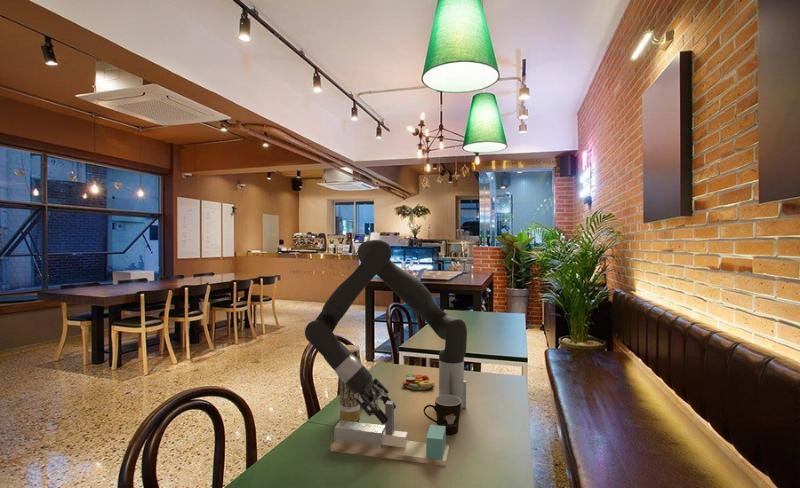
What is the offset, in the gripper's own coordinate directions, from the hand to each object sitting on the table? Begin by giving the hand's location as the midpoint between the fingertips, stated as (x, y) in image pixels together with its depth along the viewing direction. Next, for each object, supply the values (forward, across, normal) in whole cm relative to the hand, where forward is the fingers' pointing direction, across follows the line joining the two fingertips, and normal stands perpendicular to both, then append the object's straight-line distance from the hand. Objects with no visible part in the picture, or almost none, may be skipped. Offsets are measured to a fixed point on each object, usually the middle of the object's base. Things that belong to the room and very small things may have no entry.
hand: (390, 415), depth 116 cm
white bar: (+2, 0, +9) cm, 9 cm away
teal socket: (+16, 0, -3) cm, 16 cm away
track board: (+7, 0, +8) cm, 11 cm away
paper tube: (-6, +16, +21) cm, 27 cm away
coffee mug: (+17, +16, -2) cm, 24 cm away
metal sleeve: (0, 0, +13) cm, 13 cm away
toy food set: (+7, +52, +9) cm, 53 cm away
